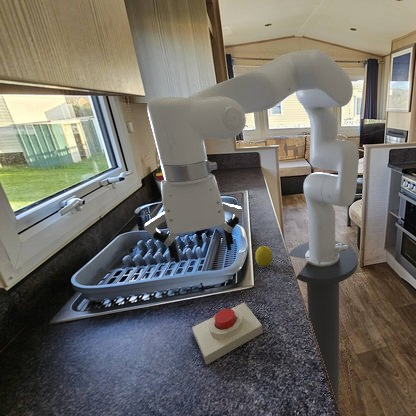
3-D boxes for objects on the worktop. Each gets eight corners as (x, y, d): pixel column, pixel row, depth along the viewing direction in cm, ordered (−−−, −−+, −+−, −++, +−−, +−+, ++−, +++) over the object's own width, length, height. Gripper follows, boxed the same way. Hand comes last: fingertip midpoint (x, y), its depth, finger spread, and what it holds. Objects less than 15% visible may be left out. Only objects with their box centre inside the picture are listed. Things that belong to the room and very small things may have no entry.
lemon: (268, 273, 84) (265, 251, 81) (253, 269, 86) (250, 248, 83) (276, 263, 89) (274, 243, 86) (262, 261, 91) (259, 240, 88)
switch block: (245, 309, 69) (243, 297, 68) (262, 332, 62) (261, 319, 61) (193, 335, 62) (190, 322, 60) (206, 365, 55) (203, 351, 53)
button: (231, 312, 64) (230, 305, 63) (238, 323, 60) (237, 316, 60) (213, 321, 61) (211, 314, 60) (219, 333, 58) (218, 326, 57)
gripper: (232, 162, 54) (243, 236, 60) (133, 173, 47) (157, 255, 53) (239, 169, 48) (250, 251, 54) (126, 183, 41) (154, 275, 47)
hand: (204, 253), depth 53 cm, fingers open, 9 cm apart
